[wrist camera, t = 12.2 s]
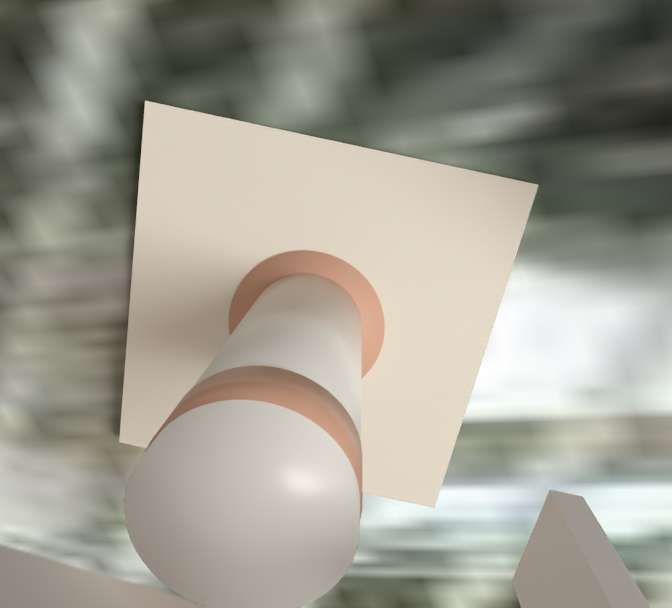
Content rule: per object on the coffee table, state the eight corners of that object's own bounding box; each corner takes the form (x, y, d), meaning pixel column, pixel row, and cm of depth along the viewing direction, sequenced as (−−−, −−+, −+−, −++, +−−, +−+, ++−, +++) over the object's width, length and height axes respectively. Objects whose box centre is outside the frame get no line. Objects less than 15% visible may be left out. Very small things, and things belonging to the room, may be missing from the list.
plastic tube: (258, 261, 21) (130, 393, 9) (374, 285, 21) (387, 447, 9) (241, 367, 22) (114, 591, 11) (350, 389, 22) (335, 636, 11)
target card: (151, 102, 20) (144, 100, 19) (533, 183, 20) (539, 184, 19) (124, 435, 25) (118, 443, 24) (432, 499, 25) (434, 508, 24)
